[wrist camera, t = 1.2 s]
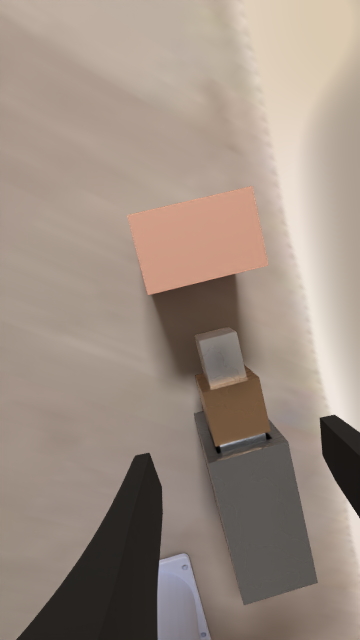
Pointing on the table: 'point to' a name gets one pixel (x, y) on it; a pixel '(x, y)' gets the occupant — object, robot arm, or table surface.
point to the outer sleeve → (260, 514)
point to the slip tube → (229, 392)
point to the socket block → (198, 240)
